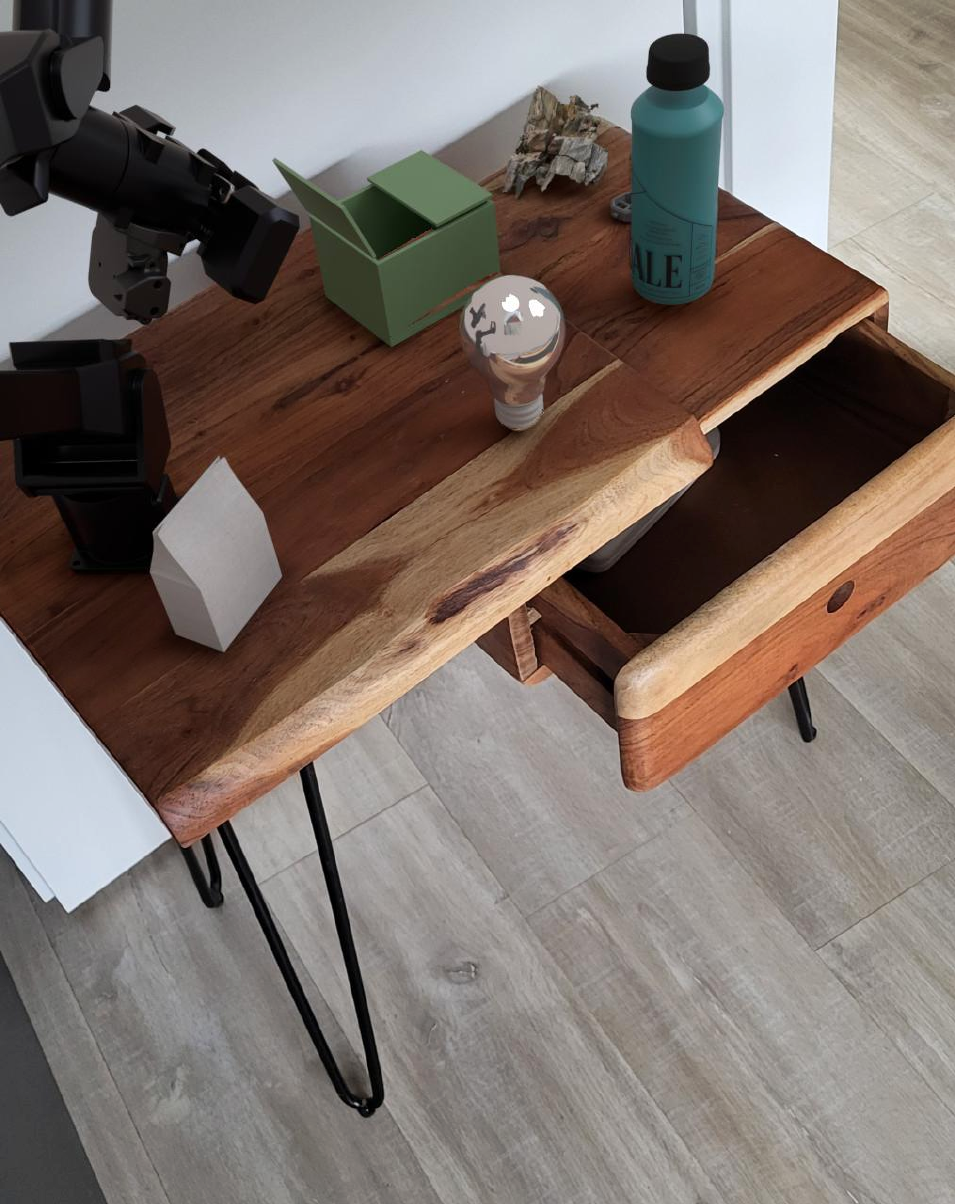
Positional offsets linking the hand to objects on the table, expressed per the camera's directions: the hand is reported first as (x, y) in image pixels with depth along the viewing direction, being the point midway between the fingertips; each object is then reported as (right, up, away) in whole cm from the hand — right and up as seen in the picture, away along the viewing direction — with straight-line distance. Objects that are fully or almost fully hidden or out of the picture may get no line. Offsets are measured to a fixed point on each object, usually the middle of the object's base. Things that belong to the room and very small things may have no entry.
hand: (284, 238), depth 93 cm
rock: (+24, +12, +21) cm, 34 cm away
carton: (+8, -1, +11) cm, 14 cm away
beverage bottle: (+28, -3, +8) cm, 29 cm away
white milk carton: (-2, -26, -9) cm, 27 cm away
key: (+28, +10, +17) cm, 34 cm away
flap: (+3, +2, +1) cm, 4 cm away
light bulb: (+17, -13, 0) cm, 21 cm away
